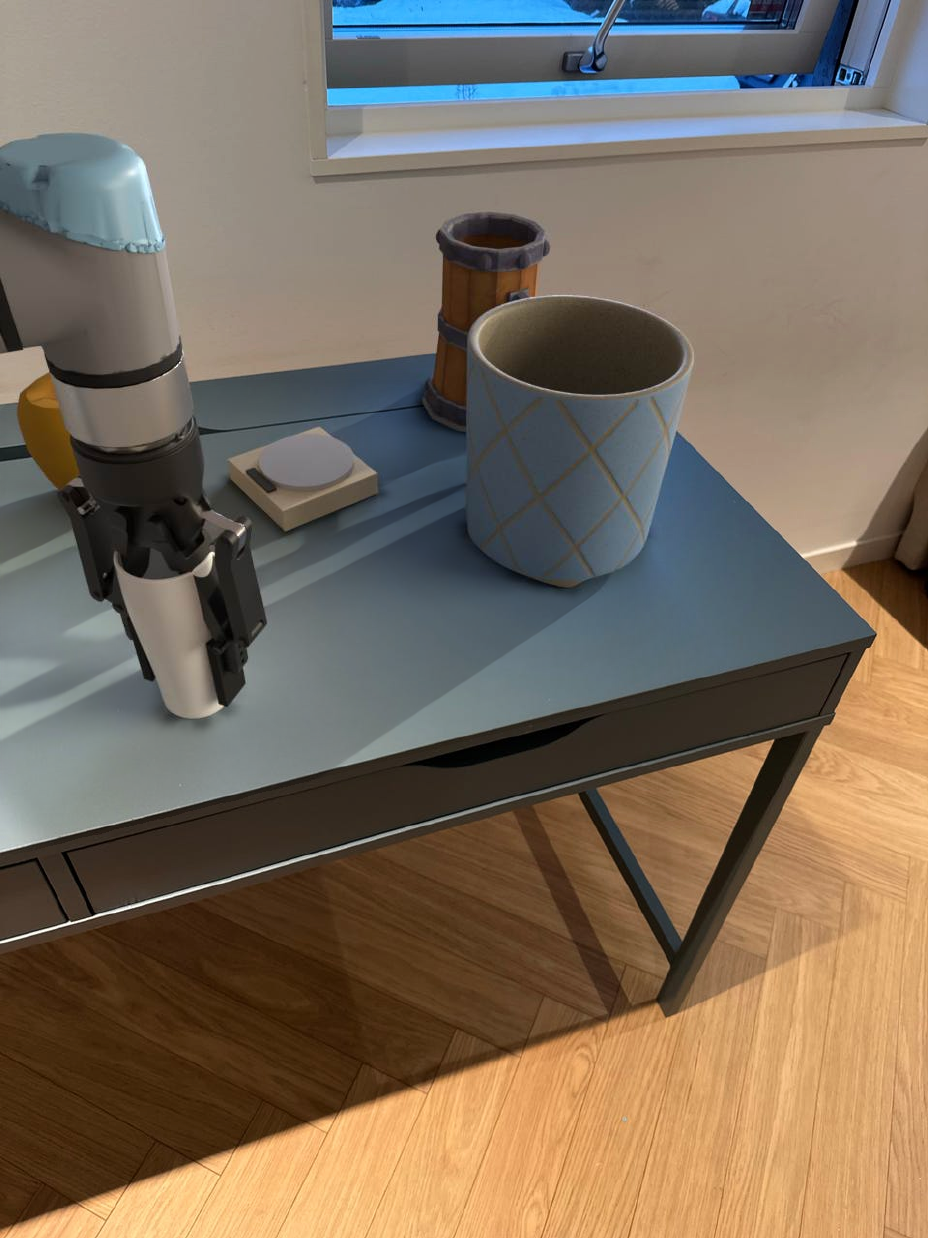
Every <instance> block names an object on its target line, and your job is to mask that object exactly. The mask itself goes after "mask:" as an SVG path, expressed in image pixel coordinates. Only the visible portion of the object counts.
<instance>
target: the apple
mask: <svg viewBox="0 0 928 1238" xmlns="http://www.w3.org/2000/svg"><path fill="white" fill-rule="evenodd" d="M16 417H17V421H18V425H19V430H20V432H21V436H22V438H23V441H24V444H25V446H26V449H27V451H28V453H29V455H30V457H31V458H32V459H33V461H34V463H35V464H36V465H37V466H38V468H39V469H40V471H41V472H42V473H43V475H44V476H45V477H46V479H47V480H48V481H49V482H50V483H51V484H52V485H53V486H54V487H55V488H56V489H57V490H58V491H59V490H60V489H62V488H63V487H64V486H66V485H67V484H68V483H69V482H71V481H72V480H73V479H74V478H76V477H77V476H78V475H79V474H80V473H79V470H78V467H77V463H76V460H75V457H74V453H73V450H72V447H71V443H70V433H69V432H68V431H67V430H66V429H65V426H64V422H63V418H62V415H61V411H60V408H59V404H58V401H57V397H56V394H55V390H54V386H53V383H52V379H51V376H50V372H49V371H48V372H47V373H45V374H43V375H41V376H40V377H37V378H36V379H35V380H34V381H33V382H31V383H30V384H29V385H28V386H27V387H25V388H24V389H23V390H22V391H20V393H19V396H18V402H17V406H16Z"/></svg>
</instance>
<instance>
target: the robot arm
mask: <svg viewBox="0 0 928 1238" xmlns="http://www.w3.org/2000/svg"><path fill="white" fill-rule="evenodd" d="M154 199H155V198H154V196H153V192H152V187H151V183H150V178H149V175H148V171H147V166H146V164H145V162H144V161H143V159H142V158H141V157H140V156H139V155H138V154H137V152H135V151H134V150H133V149H132V148H131V147H130V146H128V145H127V144H126V143H124V142H122V141H119V140H117V139H114V138H112V137H108V136H104V135H99V134H93V133H84V132H56V133H43V134H39V135H36V136H35V137H32V138H22V139H16V140H13V141H10V142H7V143H5V144H3V145H1V146H0V355H2V354H7V353H8V354H9V353H13V352H14V353H15V352H20V351H24V349H29V348H36V347H41V349H42V351H43V355H44V359H45V362H46V366H47V368H48V372H50V376H51V379H52V383H53V386H54V390H55V394H56V397H57V401H58V404H59V408H60V411H61V415H62V418H63V422H64V426H65V429H66V430H67V431H68V432H69V433H70V443H71V447H72V450H73V453H74V457H75V460H76V463H77V467H78V470H79V473H80V474H79V475H78V476H77V477H76V478H74V479H73V480H72V481H71V482H69V483H68V484H67V485H66V486H64V487H63V488H62V489H60V490H58V491H57V492H56V496H57V499H58V500H59V502H60V503H61V506H62V507H63V509H64V510H65V512H66V514H67V516H68V518H69V519H70V523H71V526H72V532H73V535H74V539H75V543H76V545H77V550H78V554H79V558H80V562H81V565H82V569H83V573H84V577H85V581H86V586H87V589H88V593H89V595H90V597H91V598H92V599H93V600H94V601H97V602H99V603H101V602H103V601H105V600H106V601H107V602H109V603H111V607H112V608H113V610H114V611H115V612H116V613H117V614H119V616H120V619H121V622H122V623H121V624H122V626H123V629H124V632H125V635H126V636H127V639H128V640H129V641H132V643H133V646H134V649H135V654H136V657H137V660H138V663H139V667H140V669H141V673H142V677H143V679H144V680H146V681H149V682H154V681H155V680H156V678H155V675H154V673H153V671H152V668H151V666H150V663H149V661H148V659H147V656H146V654H145V652H144V649H143V647H142V645H141V642H140V640H139V638H138V635H137V633H136V631H135V628H134V626H133V624H132V621H131V619H130V616H129V614H128V611H127V608H126V606H125V603H124V600H123V597H122V593H121V590H120V586H119V582H118V578H117V574H116V569H115V565H114V553H115V551H117V552H119V553H120V556H121V561H122V565H123V569H124V571H125V572H127V573H128V574H130V575H132V576H135V577H138V578H142V577H143V576H144V574H145V572H146V570H147V569H148V566H149V558H150V548H153V549H155V550H157V551H159V552H161V554H162V555H163V557H164V559H165V561H166V563H167V565H168V567H169V568H170V570H172V571H177V572H178V573H179V575H182V574H184V573H187V572H192V571H193V570H194V569H195V568H196V567H197V566H198V565H199V564H200V563H201V562H202V561H203V560H204V559H205V558H206V556H207V555H208V554H209V553H210V552H214V553H215V555H213V556H212V567H211V571H210V573H209V574H208V575H207V576H206V577H197V576H195V575H193V576H194V580H195V584H196V587H197V591H198V595H199V599H200V604H201V609H202V614H203V620H204V622H205V624H206V626H207V627H208V629H209V631H210V633H211V635H212V637H213V638H212V639H211V640H209V641H208V642H207V643H206V649H207V653H208V658H209V662H210V667H211V671H212V676H213V680H214V685H215V689H216V694H217V698H218V703H219V705H222V706H224V707H226V708H228V707H229V706H230V705H231V704H232V702H233V701H234V700H235V698H236V697H237V695H239V693H240V692H241V690H242V689H243V688H244V687H245V685H246V684H247V681H246V677H245V670H244V666H246V664H247V663H248V661H249V653H248V648H249V647H250V646H251V645H252V643H254V641H255V640H256V639H257V637H258V636H260V633H262V631H263V630H264V629H265V627H266V626H267V625H268V619H267V615H266V611H265V606H264V603H263V598H262V597H263V596H262V593H261V589H260V584H259V580H258V576H257V572H256V567H255V563H254V562H255V561H254V559H253V554H252V550H251V539H252V534H253V528H254V526H253V523H252V521H251V520H250V518H248V517H247V516H244V515H238V516H236V518H235V519H234V520H232V519H229V518H228V517H225V516H223V515H222V514H220V513H218V512H216V511H214V505H213V504H212V502H211V500H210V498H209V497H208V495H207V494H206V492H205V490H204V486H203V484H204V473H205V457H204V452H203V446H202V442H201V437H200V431H199V426H198V421H197V418H196V416H195V415H194V401H193V396H192V390H191V386H190V385H191V384H190V380H189V375H188V370H187V365H186V360H185V359H186V358H185V353H184V349H183V344H182V343H183V342H182V337H181V331H180V326H179V319H178V314H177V308H176V303H175V296H174V292H173V286H172V278H171V274H170V269H169V263H168V256H167V251H166V246H167V244H166V243H167V242H166V237H164V234H163V232H162V231H163V230H162V229H161V225H160V221H159V216H158V212H157V208H156V203H155V200H154Z"/></svg>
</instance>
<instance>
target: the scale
mask: <svg viewBox="0 0 928 1238" xmlns="http://www.w3.org/2000/svg"><path fill="white" fill-rule="evenodd" d="M227 464H228V471H229V476H230V480H231V481H232V482H233V483H234V484H235V485H236V486H237V487H238V488H239V489H240V490H241V491H242V492H243V493H245V495H247V497H249V498H250V500H252V501H253V502H254V503H255V504H256V505H257V506H258V508H260V509H261V511H263V512H264V513H265V514H267V516H269V518H271V520H273V521H274V522H275V523H276V524H277V525H278V527H280V528H281V530H283V531H284V532H287V531H290V530H292V529H295V528H297V527H300V526H302V525H304V524H307V523H309V522H312V521H314V520H317V519H320V518H322V517H324V516H326V515H329V514H331V513H334V512H335V511H338V510H341V509H344V508H345V507H348V506H350V505H353V504H356V503H358V502H360V501H362V500H365V499H368V498H370V497H372V496H374V495H377V494H378V493H379V487H378V486H379V484H378V483H379V482H378V481H379V480H378V472H377V471H376V470H374V469H373V468H371V467H370V466H369V465H367V464H366V463H365V462H364V461H363V460H362V459H361V458H359V457H358V456H356V455H355V454H354V452H353V450H352V449H351V447H350V446H348V444H346V443H345V442H344V441H343V440H340V439H339V438H335V437H333V436H331V434H329V433H328V432H327V431H326V430H324V429H323V428H322V427H320V426H317V427H313V428H311V429H308V430H306V431H303V432H299V433H297V434H294V435H290V436H289V435H288V436H286V437H283V438H280V439H277V440H276V441H274V442H272V443H269V444H266V445H263V446H260V447H257V448H255V449H253V450H249V451H246V452H244V453H242V454H238V455H235V456H233V457H230V458H227Z"/></svg>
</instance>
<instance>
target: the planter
mask: <svg viewBox="0 0 928 1238" xmlns="http://www.w3.org/2000/svg"><path fill="white" fill-rule="evenodd" d="M693 348H694V347H693V346H692V344H691V342H690V340H689V339H688V338H687V336H686V334H684V333H683V332H682V331H681V330H680V329H679V328H678V327H676V326H675V325H674V324H672V323H671V322H669V321H668V320H666V319H664V318H662V317H661V316H658V315H657V314H655V313H653V312H650V311H648V310H645V309H643V308H640V307H638V306H635V305H631V304H628V303H626V302H620V301H616V300H611V299H607V298H602V297H596V296H595V297H594V296H586V295H572V294H571V295H570V294H569V295H568V294H564V295H563V294H556V295H540V296H537V297H531V298H525V299H520V300H516V301H512V302H509V303H505V304H503V305H500V306H497V307H495V308H493V309H491V310H489V311H487V312H486V313H484V314H483V315H481V316H480V317H479V318H478V319H477V320H476V321H475V322H474V323H473V325H472V326H471V328H470V331H469V334H468V338H467V398H466V432H465V433H466V435H465V437H466V439H465V440H466V442H465V443H466V445H465V446H466V450H465V451H466V454H465V455H466V456H465V458H466V460H465V461H466V462H465V463H466V465H465V466H466V467H465V468H466V469H465V470H466V471H465V472H466V473H465V475H466V476H465V510H466V511H465V515H466V524H467V532H468V536H469V538H470V539H471V541H472V542H473V543H474V545H476V547H477V548H478V549H479V550H481V552H483V553H484V554H485V555H486V556H487V557H488V558H490V559H491V560H492V561H494V562H496V563H497V564H499V565H501V566H503V567H504V568H506V569H509V570H511V571H513V572H515V573H517V574H520V575H522V576H525V577H528V578H530V579H532V580H535V581H539V582H542V583H545V584H547V585H548V584H549V585H551V586H556V587H559V588H567V589H568V588H569V589H570V588H574V587H576V586H577V585H580V584H581V583H583V582H585V581H588V580H590V579H593V578H598V577H601V576H604V575H608V574H611V573H614V572H616V571H619V570H620V569H622V568H623V567H625V566H627V565H628V564H629V563H631V562H632V561H633V560H634V559H635V558H636V557H637V556H638V555H639V554H640V553H641V552H642V549H643V548H644V546H645V544H646V542H647V538H648V536H649V532H650V530H651V529H650V528H651V524H652V521H653V518H654V514H655V510H656V507H657V504H658V503H657V502H658V499H659V496H660V491H661V487H662V483H663V481H664V476H665V473H666V469H667V465H668V463H669V459H670V455H671V451H672V447H673V444H674V441H675V437H676V433H677V429H678V425H679V422H680V418H681V414H682V410H683V406H684V402H685V399H686V395H687V390H688V387H689V382H690V379H691V376H692V372H693V368H694V363H695V351H694V349H693Z"/></svg>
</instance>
